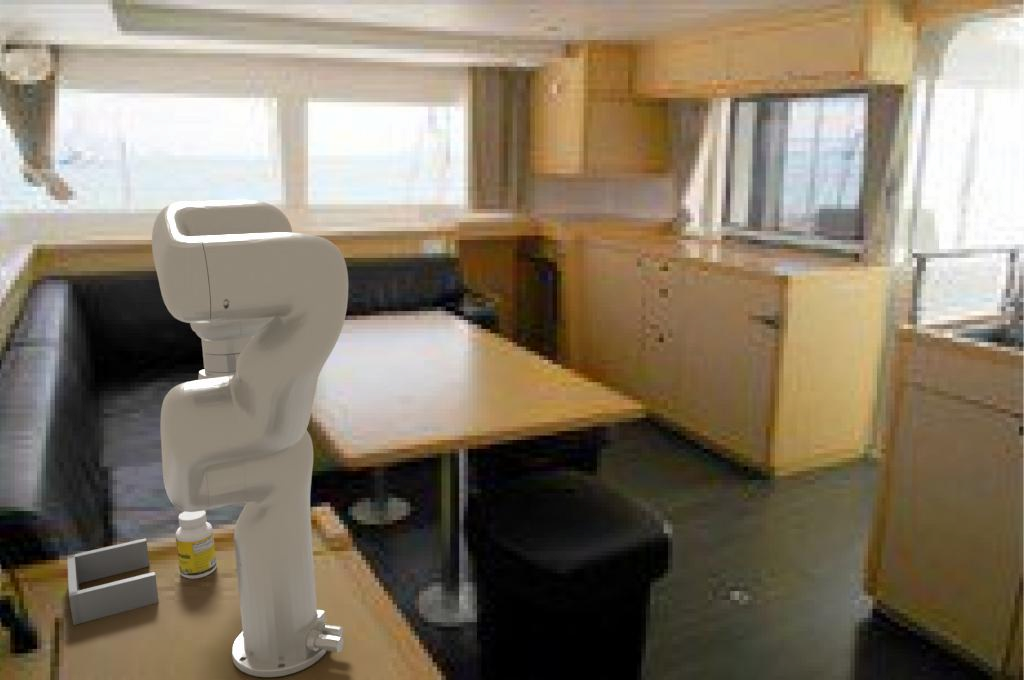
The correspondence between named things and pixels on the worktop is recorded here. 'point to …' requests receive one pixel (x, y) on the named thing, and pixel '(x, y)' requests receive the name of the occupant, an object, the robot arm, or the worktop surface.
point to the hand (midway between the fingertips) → (240, 471)
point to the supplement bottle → (195, 545)
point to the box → (112, 594)
